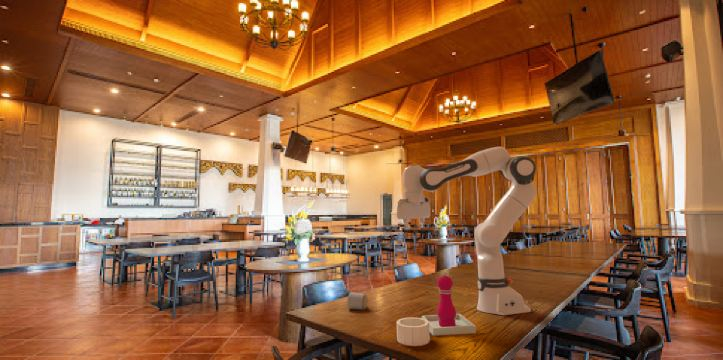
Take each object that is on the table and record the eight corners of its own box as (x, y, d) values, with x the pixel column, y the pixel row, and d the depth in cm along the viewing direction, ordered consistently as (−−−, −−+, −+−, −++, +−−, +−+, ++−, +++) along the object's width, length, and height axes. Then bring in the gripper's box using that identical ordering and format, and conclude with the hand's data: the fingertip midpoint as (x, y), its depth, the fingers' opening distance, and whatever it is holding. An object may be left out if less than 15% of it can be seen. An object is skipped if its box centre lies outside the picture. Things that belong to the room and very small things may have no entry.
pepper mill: (443, 329, 127) (440, 274, 129) (434, 323, 134) (431, 271, 136) (460, 326, 129) (457, 272, 131) (450, 321, 136) (447, 270, 138)
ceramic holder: (424, 333, 125) (423, 316, 126) (433, 344, 114) (432, 326, 115) (395, 335, 124) (394, 318, 125) (400, 346, 113) (400, 328, 114)
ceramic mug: (364, 311, 157) (363, 294, 158) (347, 310, 159) (346, 293, 160) (370, 306, 167) (369, 290, 168) (354, 305, 169) (353, 289, 170)
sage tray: (460, 320, 140) (459, 313, 140) (476, 333, 124) (475, 325, 124) (421, 322, 139) (421, 315, 139) (433, 335, 123) (432, 328, 123)
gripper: (402, 198, 153) (404, 229, 152) (431, 199, 166) (433, 227, 165) (392, 199, 158) (394, 229, 157) (421, 199, 171) (423, 227, 170)
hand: (414, 228), depth 161 cm, fingers open, 8 cm apart
